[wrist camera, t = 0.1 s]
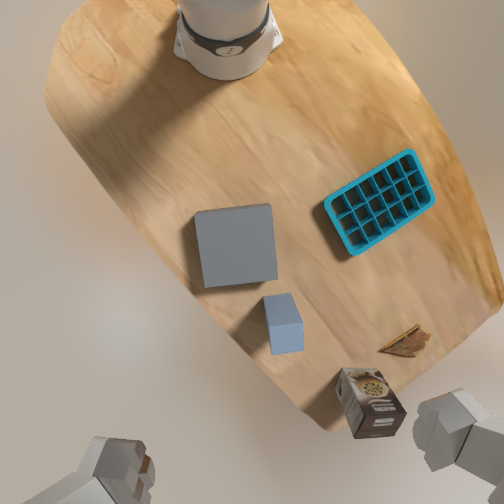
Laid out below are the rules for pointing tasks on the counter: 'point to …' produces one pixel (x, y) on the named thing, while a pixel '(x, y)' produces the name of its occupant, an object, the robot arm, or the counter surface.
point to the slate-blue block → (283, 324)
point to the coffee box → (369, 403)
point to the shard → (409, 342)
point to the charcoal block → (236, 245)
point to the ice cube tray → (383, 201)
